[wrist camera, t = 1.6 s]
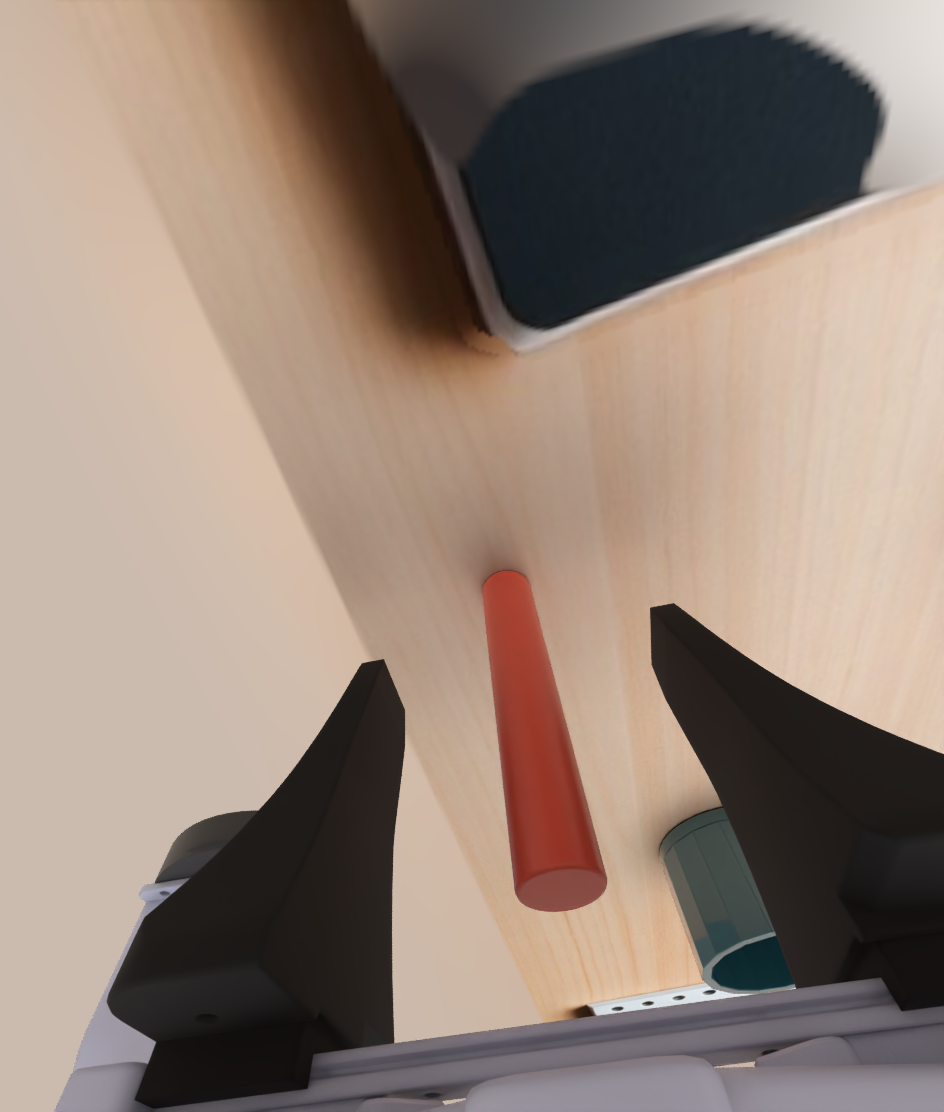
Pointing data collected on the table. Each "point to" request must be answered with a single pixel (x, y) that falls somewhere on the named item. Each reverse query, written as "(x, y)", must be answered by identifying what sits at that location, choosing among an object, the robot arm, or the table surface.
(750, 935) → the cup
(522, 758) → the red wooden dowel
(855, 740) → the robot arm
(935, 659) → the table surface
